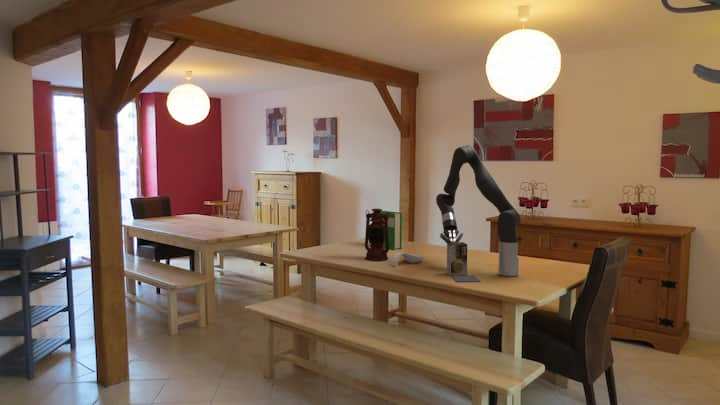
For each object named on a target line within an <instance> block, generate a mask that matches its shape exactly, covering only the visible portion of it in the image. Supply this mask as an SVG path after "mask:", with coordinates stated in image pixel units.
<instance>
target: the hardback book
mask: <svg viewBox="0 0 720 405" xmlns="http://www.w3.org/2000/svg"><path fill="white" fill-rule="evenodd" d="M380 212H381V213H382V214H383V215H387V214H388V213H387V212H389V219H388V236H389V251H390V250H391V251H396V249H398V250H401V249H402V248H403V247H402V243H403V241H402V238H403V237H402V234H403V232H402V230H403V229H402V228H403V212H398V211H388V210H382V211H380ZM386 213H387V214H386ZM382 219H383V218H382ZM383 220H384V219H383ZM383 248H384V249H386V242H385V243H383Z"/></svg>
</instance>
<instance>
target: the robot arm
mask: <svg viewBox="0 0 720 405" xmlns="http://www.w3.org/2000/svg"><path fill="white" fill-rule="evenodd" d="M465 164H469V166H470V167H471V169H472V170H473V173H474V181H475V185H476V187H477V189H478V191H479V192H480V193H481V195H482V196H483V197H484V198H485V199H486V200H487V201H488V202H490V203H491V204H492V205H493V207H495V208H496V209H497V210H498V212H499V214H498V217H497V236H498V266H497V267H498V269H497V271H498V275H500V276H504V277H515V276H519V260H520V259H519V256H518V252H519V250H518V246H519V244H518V243H519V242H518V241H519V237H518V236H517V234H516V228H517V227H518V226H519V225H520V224H521V222H522V220H521V219H522V218H521V215H520V213H519V212H518V211H517V210H516V209H515V208H514V206H513V205H512V204H511V202H510V201H509V200H508V198H506V196H505V194H504V192H503V191H502V190H501V189H500V187H499V185H498V183H497V182H496V181H495V179H494V178H493V177H492V175H491V173H490V172H489V171H488V169H487V168H486V166H485V165H484V163H483V161H482V160H481V158H480V156H479V154H478V152H477V150H476V149H475V148H474V147H473V146H472V145H468V144H467V145H462V146H460V147H457V148H455V150H454V152H453V155H452V158H451V164H450V168H449V172H448V176H447V179H446V181H445V184H444V187H443V191H444V193H439V194H437V195H436V197H435V198H436V199H435V202H436V203H435V204H436V205H437V207H438V208H439V211H440V214H441V223H442V229H443V232H442V233H440V234H439V237H440V238H441V239H442V241H443V242H445V243H446V244H447V243H456V242H461V240H462V238H463V236H464V233H463V232H460V231H459V229H458V225H457V220H456V217H455V211H454V210H455V209H454V208H453V206H454V205H455V203H456V202H455V201H456V193H457V190H458V186H459V185H460V181H461V180H460V179H461V177H460V170H461V168H462V167H463V166H464V165H465Z"/></svg>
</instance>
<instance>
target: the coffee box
mask: <svg viewBox="0 0 720 405" xmlns="http://www.w3.org/2000/svg"><path fill="white" fill-rule="evenodd" d="M446 273H447V274H448V275H449V276H451V275H468V243H465V242H464V241H463V242H461V241H459V242H456V243H446Z"/></svg>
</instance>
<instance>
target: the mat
mask: <svg viewBox="0 0 720 405" xmlns="http://www.w3.org/2000/svg"><path fill="white" fill-rule="evenodd" d="M450 276H452V277H451V278H452V279H453V280H454V281H455V283H481V282H482V281H481V280H480V279H479V278H478V277H477V276H476V275H475V274H474V275H473V274H472V275H470V274H467V275H450Z"/></svg>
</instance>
